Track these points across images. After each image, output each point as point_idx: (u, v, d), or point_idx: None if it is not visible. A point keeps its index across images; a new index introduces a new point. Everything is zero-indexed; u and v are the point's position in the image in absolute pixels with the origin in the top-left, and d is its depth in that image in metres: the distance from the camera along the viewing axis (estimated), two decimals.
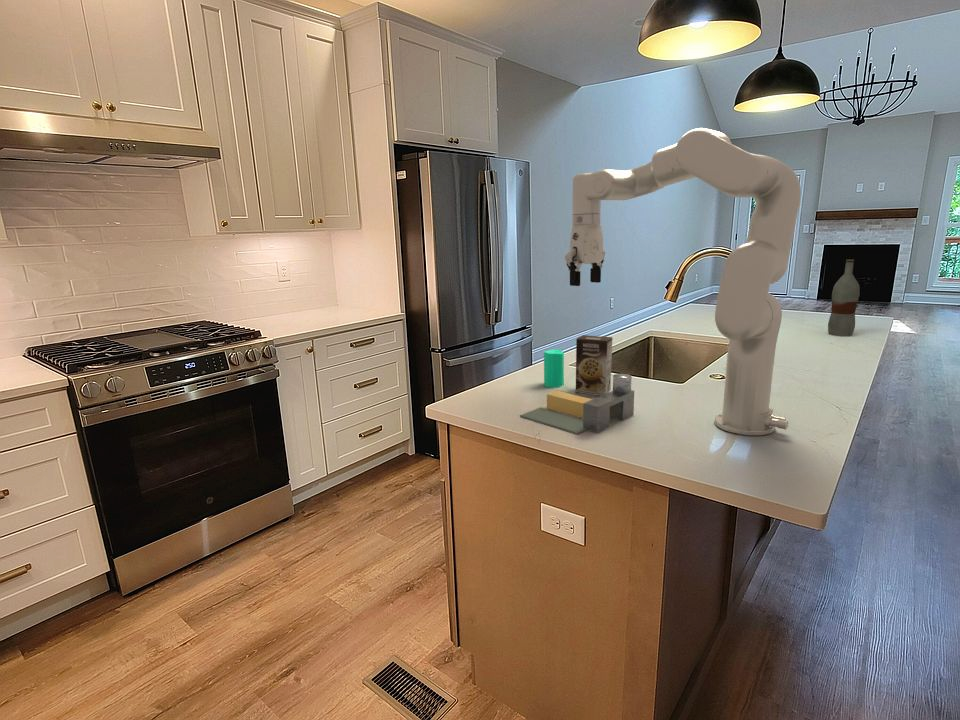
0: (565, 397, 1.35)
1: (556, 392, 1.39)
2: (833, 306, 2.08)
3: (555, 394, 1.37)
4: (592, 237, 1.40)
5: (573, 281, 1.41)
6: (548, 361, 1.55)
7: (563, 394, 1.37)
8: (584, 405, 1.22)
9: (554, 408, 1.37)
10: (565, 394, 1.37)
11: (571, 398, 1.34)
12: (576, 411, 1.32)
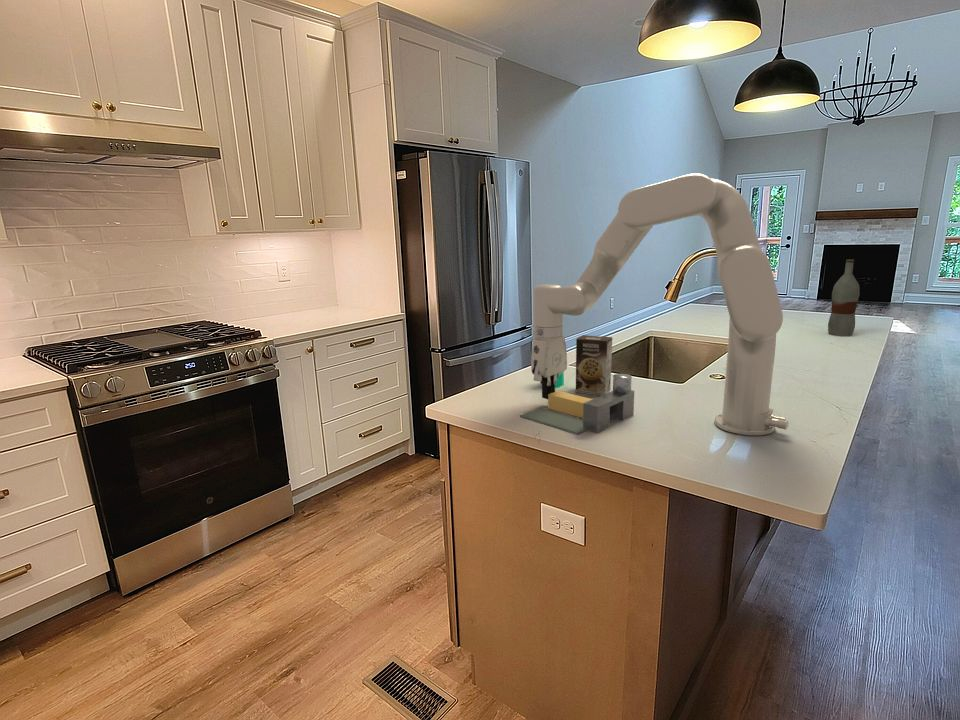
0: (566, 397, 1.34)
1: (557, 392, 1.38)
2: (833, 306, 2.08)
3: (557, 394, 1.37)
4: (553, 350, 1.34)
5: (545, 395, 1.39)
6: None
7: (565, 394, 1.37)
8: (584, 405, 1.22)
9: (556, 408, 1.36)
10: (567, 394, 1.36)
11: (573, 398, 1.33)
12: (577, 411, 1.31)
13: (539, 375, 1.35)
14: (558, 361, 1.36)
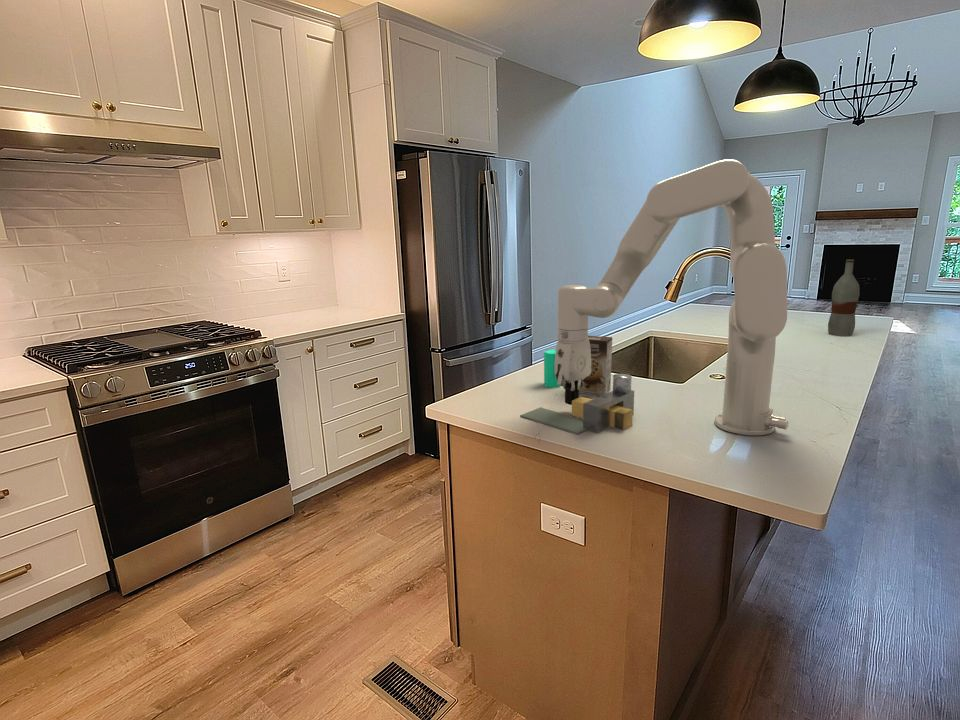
0: None
1: (581, 398, 1.33)
2: (833, 306, 2.08)
3: (581, 401, 1.31)
4: (578, 354, 1.28)
5: (568, 400, 1.33)
6: (548, 361, 1.55)
7: None
8: (584, 405, 1.22)
9: (579, 415, 1.31)
10: None
11: None
12: None
13: (563, 380, 1.30)
14: (583, 365, 1.31)
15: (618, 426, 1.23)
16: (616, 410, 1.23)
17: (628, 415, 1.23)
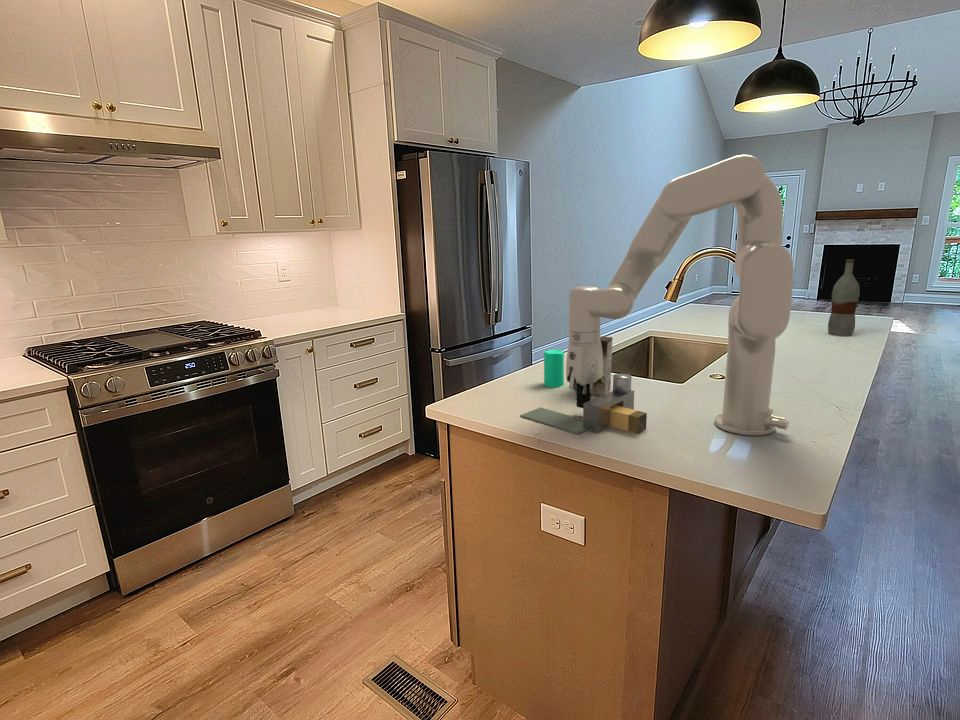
0: None
1: None
2: (833, 306, 2.08)
3: None
4: (590, 356, 1.26)
5: (580, 404, 1.31)
6: (548, 361, 1.55)
7: None
8: (584, 405, 1.22)
9: None
10: None
11: (611, 408, 1.25)
12: (616, 422, 1.23)
13: (575, 383, 1.27)
14: (595, 368, 1.28)
15: (632, 430, 1.20)
16: (630, 413, 1.21)
17: (642, 419, 1.20)
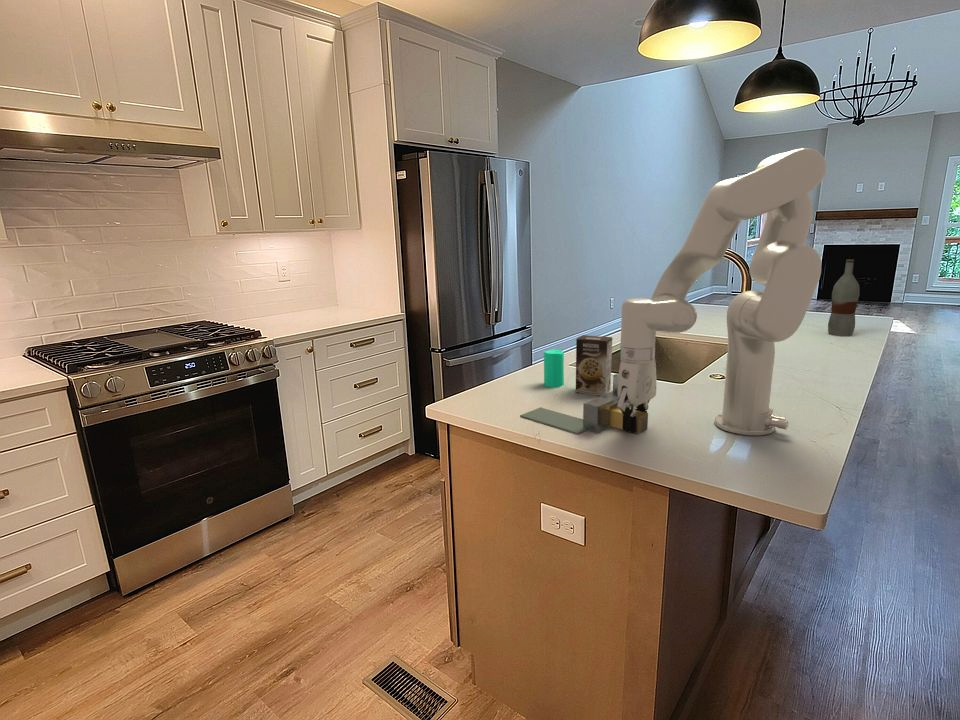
0: None
1: None
2: (833, 306, 2.08)
3: None
4: (645, 374, 1.16)
5: (627, 427, 1.20)
6: (548, 361, 1.55)
7: None
8: (584, 405, 1.22)
9: None
10: None
11: (612, 408, 1.25)
12: (618, 422, 1.23)
13: (626, 400, 1.16)
14: (648, 387, 1.18)
15: None
16: None
17: (643, 419, 1.20)
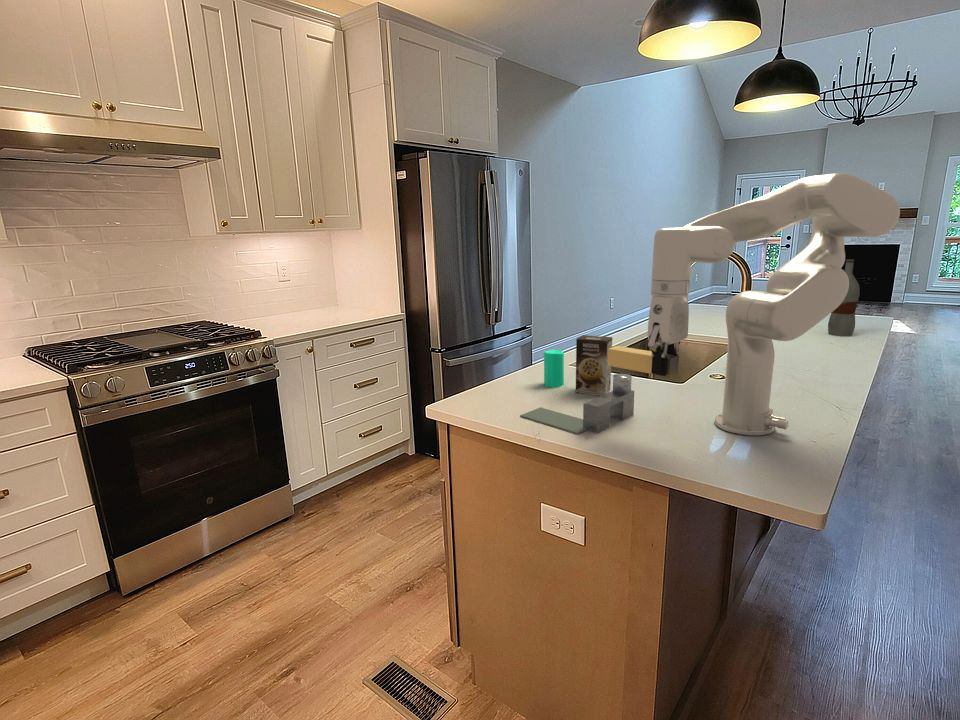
0: (631, 351, 1.16)
1: (618, 347, 1.21)
2: None
3: (618, 349, 1.19)
4: (678, 310, 1.07)
5: (658, 370, 1.10)
6: (548, 361, 1.55)
7: (627, 349, 1.19)
8: (584, 405, 1.22)
9: (617, 365, 1.18)
10: (630, 349, 1.19)
11: (639, 352, 1.16)
12: (646, 366, 1.13)
13: (658, 338, 1.07)
14: (681, 325, 1.09)
15: None
16: None
17: (674, 361, 1.11)
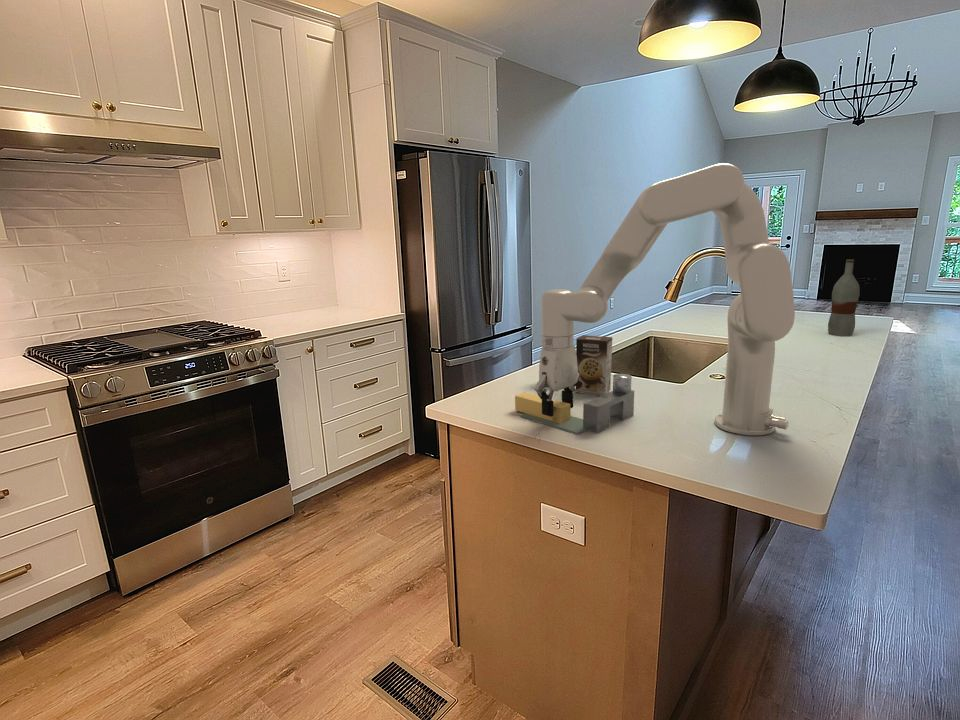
0: (532, 399, 1.33)
1: (525, 394, 1.37)
2: (833, 306, 2.08)
3: (523, 396, 1.35)
4: (563, 361, 1.23)
5: (545, 411, 1.25)
6: None
7: (531, 396, 1.35)
8: (584, 405, 1.22)
9: (522, 410, 1.35)
10: (533, 396, 1.35)
11: (539, 399, 1.32)
12: None
13: (545, 382, 1.23)
14: (568, 373, 1.25)
15: (556, 420, 1.27)
16: (554, 404, 1.28)
17: (565, 409, 1.27)
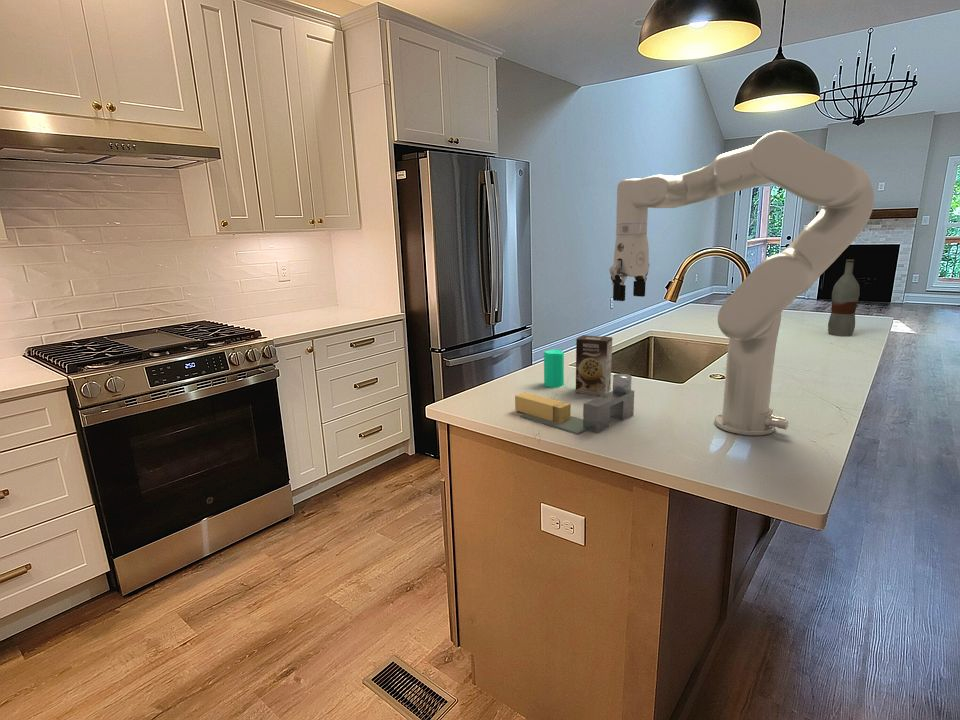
0: (532, 399, 1.33)
1: (525, 394, 1.37)
2: (833, 306, 2.08)
3: (523, 396, 1.35)
4: (638, 248, 1.29)
5: (617, 296, 1.30)
6: (548, 361, 1.55)
7: (531, 396, 1.35)
8: (584, 405, 1.22)
9: (522, 410, 1.35)
10: (533, 396, 1.35)
11: (539, 399, 1.32)
12: (543, 413, 1.30)
13: (620, 265, 1.28)
14: (641, 261, 1.31)
15: (556, 420, 1.27)
16: (554, 404, 1.28)
17: (565, 409, 1.27)
